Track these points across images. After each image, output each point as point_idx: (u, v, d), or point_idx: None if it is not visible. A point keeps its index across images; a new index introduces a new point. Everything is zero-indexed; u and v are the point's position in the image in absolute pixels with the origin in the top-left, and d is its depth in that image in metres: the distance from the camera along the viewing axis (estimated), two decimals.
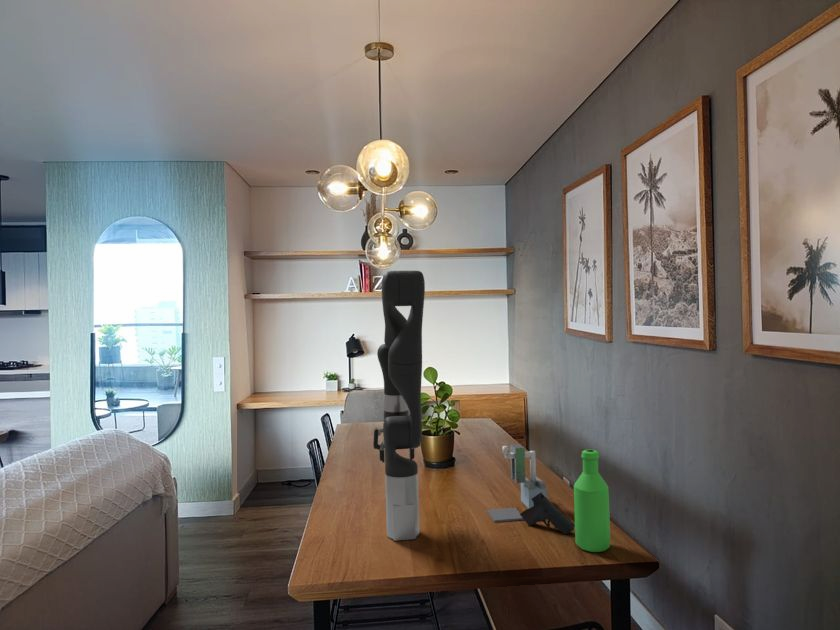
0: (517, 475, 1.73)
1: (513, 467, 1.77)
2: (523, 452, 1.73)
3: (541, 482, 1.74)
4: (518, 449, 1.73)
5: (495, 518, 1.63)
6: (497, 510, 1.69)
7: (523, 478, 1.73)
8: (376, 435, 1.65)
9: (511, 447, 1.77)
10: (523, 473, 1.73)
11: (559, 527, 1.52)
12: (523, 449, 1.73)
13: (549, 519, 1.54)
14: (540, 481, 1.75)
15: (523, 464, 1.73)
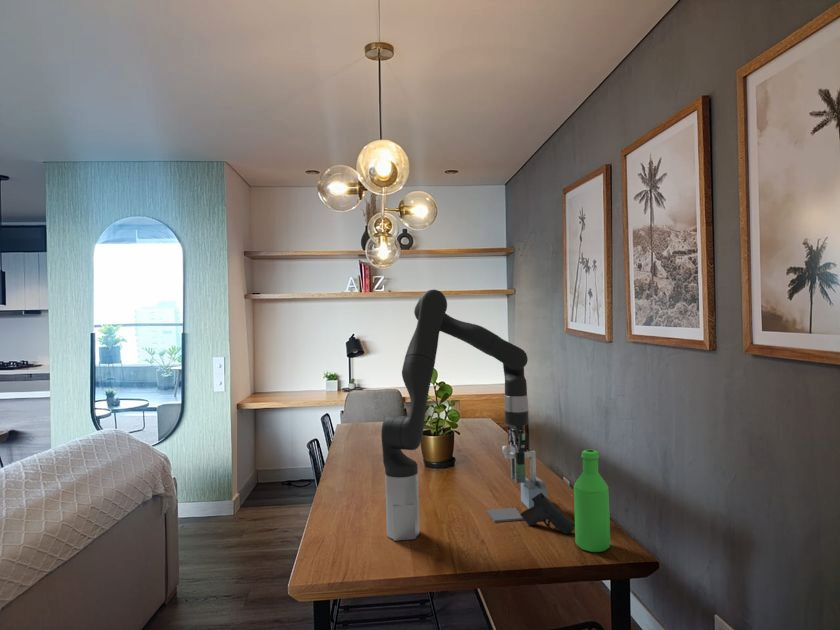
0: (517, 475, 1.73)
1: (513, 467, 1.77)
2: None
3: (541, 482, 1.74)
4: None
5: (495, 518, 1.63)
6: (497, 510, 1.69)
7: (523, 478, 1.73)
8: None
9: (511, 447, 1.77)
10: (523, 473, 1.73)
11: (559, 527, 1.52)
12: None
13: (549, 519, 1.54)
14: (540, 481, 1.75)
15: (523, 464, 1.73)
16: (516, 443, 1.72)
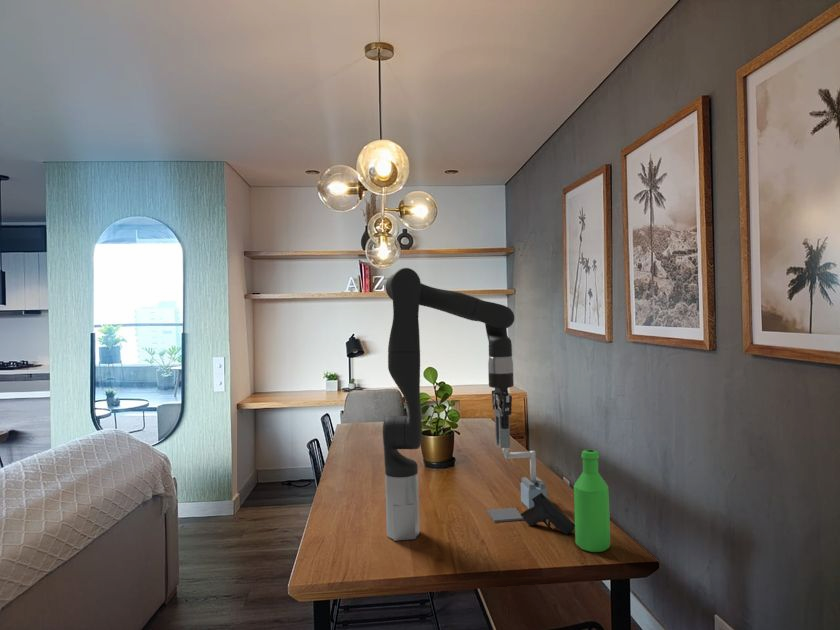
0: (501, 440, 1.64)
1: (497, 432, 1.68)
2: None
3: (541, 482, 1.74)
4: None
5: (495, 518, 1.63)
6: (497, 510, 1.69)
7: (508, 443, 1.64)
8: None
9: (495, 411, 1.68)
10: (508, 438, 1.64)
11: (560, 527, 1.52)
12: None
13: (550, 519, 1.54)
14: (540, 481, 1.75)
15: (508, 428, 1.64)
16: (500, 406, 1.63)
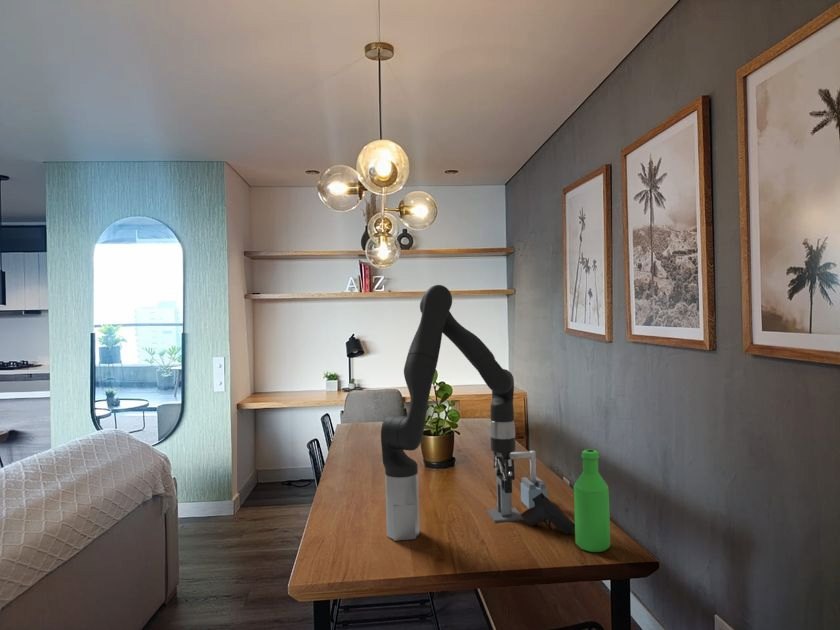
0: (503, 508, 1.64)
1: (499, 499, 1.68)
2: None
3: (541, 482, 1.74)
4: None
5: (495, 518, 1.63)
6: None
7: (509, 511, 1.64)
8: None
9: (497, 478, 1.68)
10: (509, 506, 1.64)
11: (560, 527, 1.52)
12: None
13: (550, 519, 1.54)
14: (540, 481, 1.75)
15: (509, 497, 1.64)
16: (503, 470, 1.63)
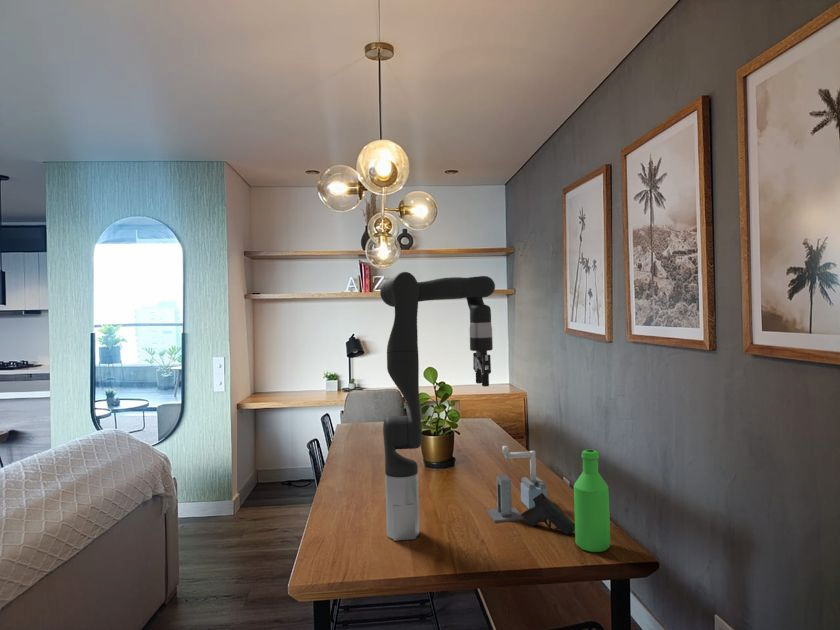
0: (503, 508, 1.64)
1: (499, 499, 1.68)
2: (509, 484, 1.64)
3: (541, 482, 1.74)
4: (504, 481, 1.64)
5: (495, 518, 1.63)
6: None
7: (509, 511, 1.64)
8: None
9: (497, 478, 1.68)
10: (509, 506, 1.64)
11: (560, 527, 1.52)
12: (509, 481, 1.64)
13: (550, 519, 1.54)
14: (540, 481, 1.75)
15: (509, 497, 1.64)
16: (480, 366, 1.78)
